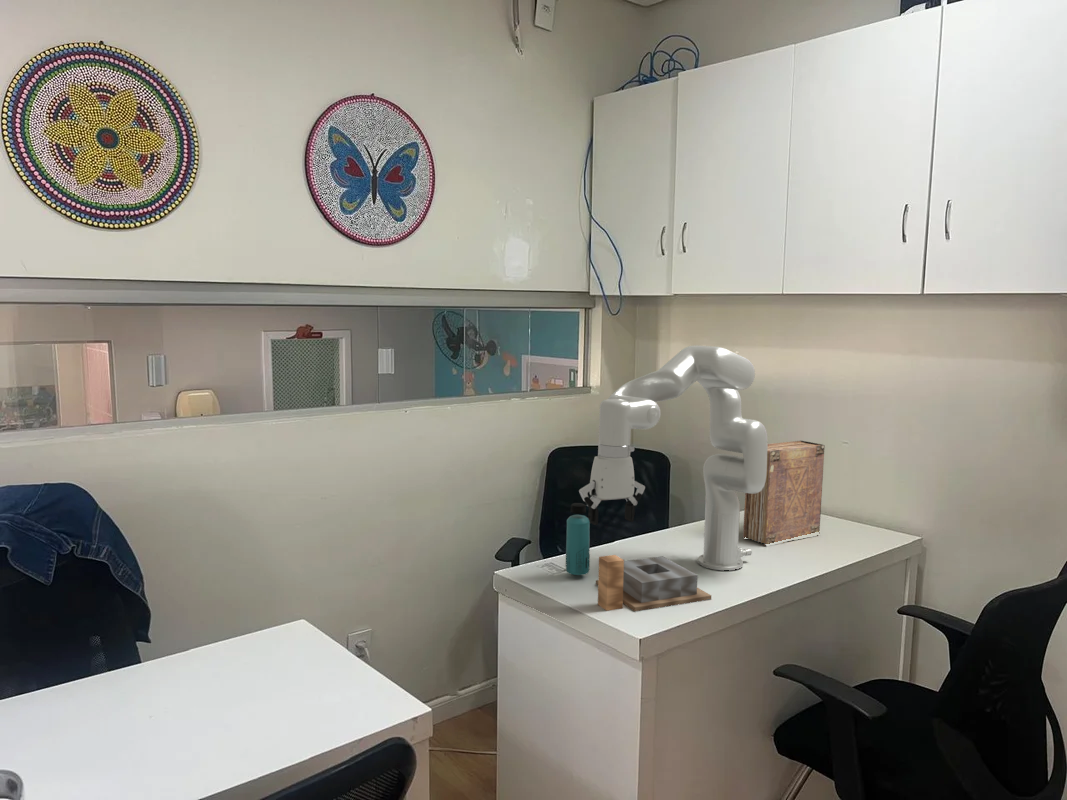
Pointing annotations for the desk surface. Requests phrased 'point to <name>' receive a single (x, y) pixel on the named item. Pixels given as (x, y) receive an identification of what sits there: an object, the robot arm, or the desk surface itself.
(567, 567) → the beverage bottle
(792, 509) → the book
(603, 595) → the peg
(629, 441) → the robot arm
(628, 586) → the socket board
